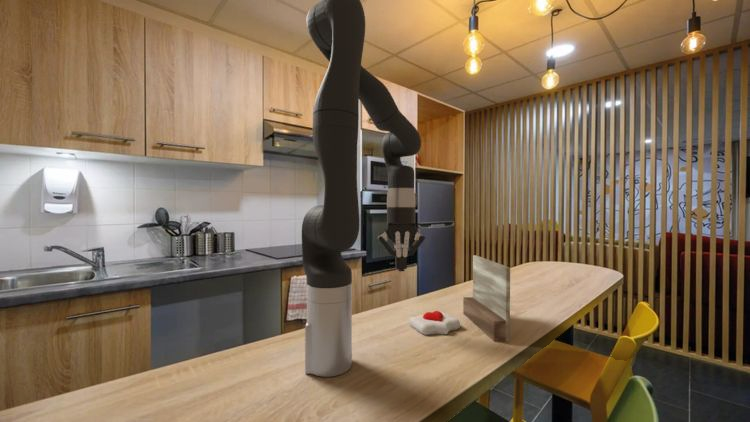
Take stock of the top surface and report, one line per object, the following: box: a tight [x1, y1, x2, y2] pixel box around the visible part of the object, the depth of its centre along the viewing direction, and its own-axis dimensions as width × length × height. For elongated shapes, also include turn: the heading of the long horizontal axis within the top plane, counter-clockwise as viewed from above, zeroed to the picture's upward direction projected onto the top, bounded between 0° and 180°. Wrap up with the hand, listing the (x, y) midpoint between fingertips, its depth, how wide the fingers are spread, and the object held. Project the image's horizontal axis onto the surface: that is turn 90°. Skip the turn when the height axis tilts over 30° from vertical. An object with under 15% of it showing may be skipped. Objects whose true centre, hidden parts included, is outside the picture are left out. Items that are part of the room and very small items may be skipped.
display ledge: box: [462, 254, 511, 342], centre depth 86 cm, size 4×20×18 cm, turn 5°
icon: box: [408, 310, 461, 336], centre depth 85 cm, size 12×4×10 cm
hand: (401, 270), depth 83 cm, fingers closed
